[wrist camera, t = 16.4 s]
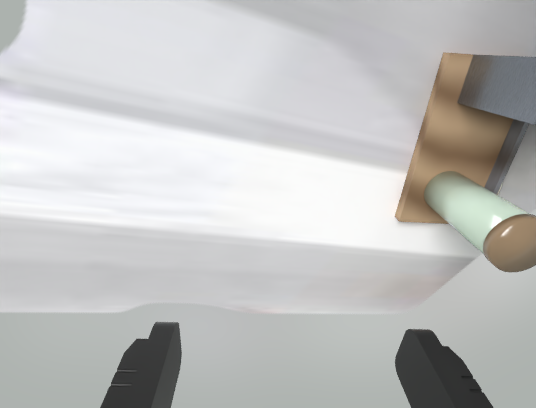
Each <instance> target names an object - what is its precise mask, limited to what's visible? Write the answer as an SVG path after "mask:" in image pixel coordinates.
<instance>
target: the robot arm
mask: <svg viewBox="0 0 536 408" xmlns="http://www.w3.org/2000/svg"><path fill="white" fill-rule="evenodd" d="M181 353H182V352H181V340H180V329H179V323H178V322H156V323H155V324H154V326H153V328H152V331H151V334H150V336H149V339H136V340H135V341H134V343H133V344H132V345H131V346H130V347H129V348H128V349H127V350H126V351H125V353H124V355H123V357H122V359H121V362H120V364H119V366H118V368H117V372H116V373H115V375H114V378H113V380H112V382H111V386H110V387H109V389H108V391H107V394H106V396H105V398H104V401H103V403H102V405H101V407H100V408H171V404H172V400H173V395H174V391H175V387H176V383H177V378H178V375H179V371H180V365H181ZM395 366H396V372H397V375H398V377H399V380H400V382H401V385H402V387H403V389H404V392H405V394H406V396H407V398H408V401H409V403H410V405H411V408H493V406H492V405H491V403H490V402H489V400H488V399H487V397H486V396H485V394H484V393H482V391H481V388H480V386H479V385H478V383H477V382H476V380H475V379H473V376H472V374H471V373H470V371H469V369H468V368H467V366H466V365H465V363H464V362H463V360H462V359H461V358H459V357H458V356H457V355H456V354H455V353H454V352H453V351H452V350H451V349H450V348H449V347H447V346H442V345H441V343H440V342H439V340H438V338H437V337H436V335H435V334H434V332H433V331H431V330H422V329H408V330H407V331H406V332H405V335H404V337H403V340H402V342H401V345H400V347H399V350H398V352H397V355H396V359H395Z"/></svg>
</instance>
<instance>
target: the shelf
mask: <svg viewBox="0 0 536 408" xmlns="http://www.w3.org/2000/svg"><path fill="white" fill-rule="evenodd" d="M472 57H473V55H470V54H457V53H443V56H442V59H441V63H440V66H439V69H438V73H437V76H436V79H435V83H434V86H433V90H432V93H431V96H430V100H429V103H428V106H427V110H426V113H425V116H424V120H423V123H422V127H421V130H420V133H419V137H418V140H417V143H416V147H415V150H414V153H413V157H412V160H411V164H410V167H409V170H408V174H407V177H406V180H405V184H404V187H403V190H402V194H401V197H400V200H399V204H398V207H397V211H396V214H395V217H396V218H397V219H398V221H400V222H422V223H443V224H449V223H448V222H447V221H446V220H445V219H443V218H442V217H441V216H440V215H439V214H438V213H437V212H435V211H434V210H433V209H432V208H431V207H430V206H429V205H428V204H427V203H426V201H425V199H424V191H425V188H426V186H427V184H428V183H429V182H430V180H431V179H432V178H434V177H435V176H436V175H438V174H440V173H442V172H446V171H455V172H458V173H460V174H462V175H464V176H465V177H467V178H469V179H471V180H472V181H474V182H476V183H477V184H479V185H481V186H482V187H484V188H486V189H488V190H489V191H491V192H493V193H494V194H496V195H498V193H499V191H500V189H501V187H502V184H503V183H502V182H503V180H504V178H505V176H506V174H507V172H508V169H509V167H510V165H511V163H512V161H513V158H514V156H515V154H516V152H517V150H518V147H519V145H520V143H521V141H522V139H523V136H524V134H525V132H526V130H527V128H528V125H529V123H526V122H523V121H519V120H516V119H512V118H509V117H505V116H502V115H498V114H494V113H491V112H487V111H484V110H480V109H477V108H473V107H470V106H466V105H463V104H459V103H457V101H458V99H459V96H460V93H461V90H462V87H463V84H464V81H465V78H466V75H467V72H468V69H469V66H470V63H471V60H472Z"/></svg>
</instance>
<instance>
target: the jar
mask: <svg viewBox="0 0 536 408" xmlns="http://www.w3.org/2000/svg"><path fill="white" fill-rule="evenodd" d="M424 199H425V201H426V203H427V204H428V205H429V206H430V207H431V208H432V209H433V210H434V211H435V212H437V213H438V214H439V215H440V216H441V217H442V218H443V219H445V220H446V221H447V222H448V223H449V224H450V225H451V226H453V227H454V228H455V229H456V230H457V231H458V232H459V233H460V234H462V235H463V236H464V237H465V238H466V239H467V240H468V241H470V242H471V243H472V244H473V245H474V246H475V247H476V248H477V249H479V250H480V251H481V252H482V253H483V254H484V255H485V257H486V258H487V259H488V260H489V261H490V262H491V263H492V264H493V265H494V266H495V267H497V268H498V269H500V270H502V271H505V272H519V271H523V270H526V269H529V268H531V267H533V266H535V265H536V216H535V215H531V214H529V213H527V212H525V211H523V210H522V209H520V208H518V207H517V206H515V205H513V204H511V203H510V202H508V201H506V200H505V199H503V198H501V197H500V196H498V195H496V194H494V193H493V192H491V191H489V190H488V189H486V188H484V187H482V186H481V185H479V184H477V183H476V182H474V181H472V180H471V179H469V178H467V177H465V176H464V175H462V174H460V173H458V172H455V171H446V172H442V173H440V174H438V175H436V176H435V177H434V178H432V179H431V180H430V182H429V183H428V184H427V186H426V188H425V191H424Z"/></svg>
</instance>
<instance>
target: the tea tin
mask: <svg viewBox="0 0 536 408" xmlns="http://www.w3.org/2000/svg"><path fill="white" fill-rule="evenodd" d="M457 103H459V104H463V105H466V106H470V107H473V108H477V109H480V110H484V111H487V112H491V113H494V114H498V115H502V116H505V117H509V118H512V119H516V120H519V121H523V122H526V123H530V124H533V125H536V57H519V56H493V55H473V57H472V60H471V63H470V66H469V69H468V72H467V75H466V78H465V81H464V84H463V87H462V90H461V93H460V96H459V99H458V101H457Z"/></svg>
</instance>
